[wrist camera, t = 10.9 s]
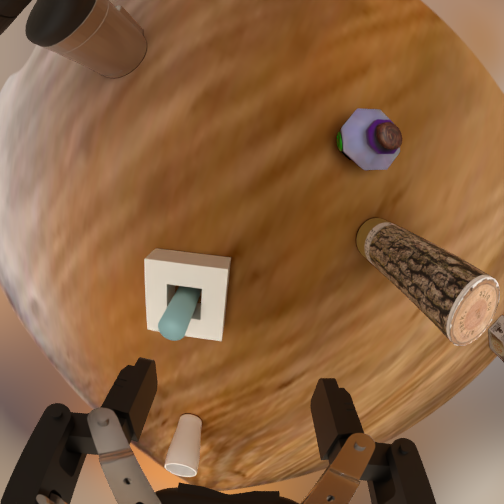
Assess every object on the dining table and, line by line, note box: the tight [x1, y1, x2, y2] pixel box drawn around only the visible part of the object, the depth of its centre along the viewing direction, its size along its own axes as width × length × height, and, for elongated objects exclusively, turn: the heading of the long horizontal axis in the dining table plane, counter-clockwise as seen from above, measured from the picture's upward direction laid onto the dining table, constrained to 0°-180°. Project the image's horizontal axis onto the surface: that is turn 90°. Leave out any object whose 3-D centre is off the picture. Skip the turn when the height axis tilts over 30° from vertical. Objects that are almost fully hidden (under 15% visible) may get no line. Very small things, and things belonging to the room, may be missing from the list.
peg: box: [158, 286, 202, 340], centre depth 38 cm, size 4×4×12 cm
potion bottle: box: [336, 109, 402, 170], centre depth 31 cm, size 9×9×12 cm
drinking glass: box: [165, 414, 202, 477], centre depth 47 cm, size 7×7×15 cm
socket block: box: [145, 248, 231, 341], centre depth 41 cm, size 12×12×5 cm
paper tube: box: [356, 218, 500, 346], centre depth 29 cm, size 7×7×25 cm
